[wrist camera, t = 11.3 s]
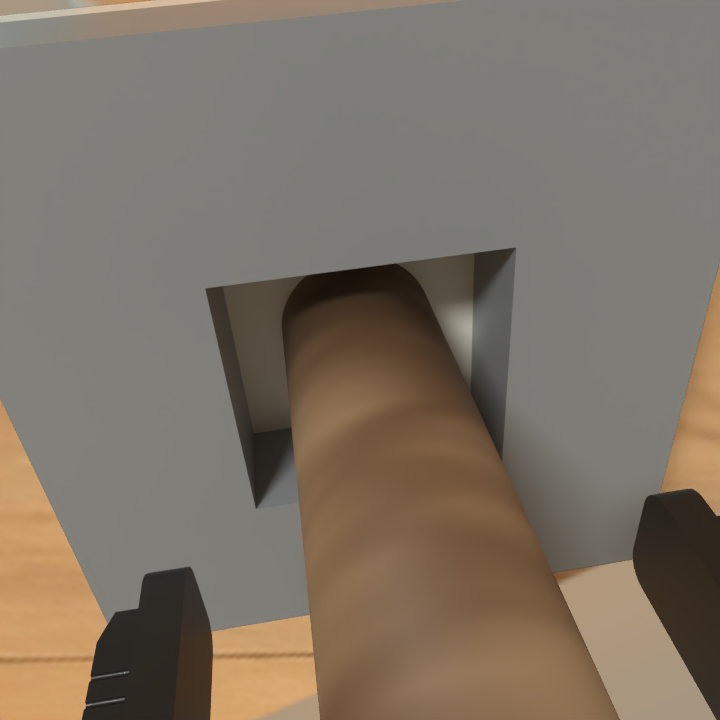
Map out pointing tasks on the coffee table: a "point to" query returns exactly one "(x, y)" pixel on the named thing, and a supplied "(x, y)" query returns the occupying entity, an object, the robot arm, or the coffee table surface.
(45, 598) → the coffee table surface
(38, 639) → the coffee table surface
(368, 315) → the walnut peg
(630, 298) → the socket block
